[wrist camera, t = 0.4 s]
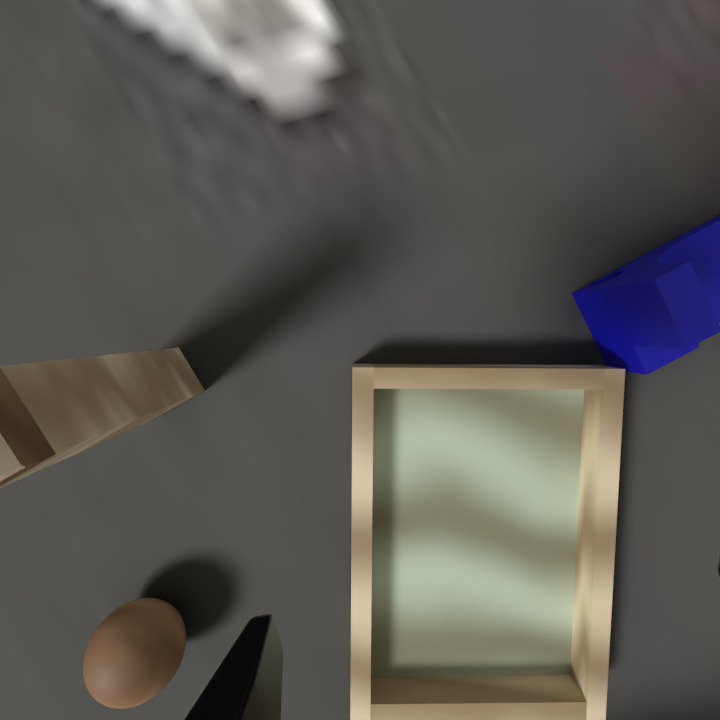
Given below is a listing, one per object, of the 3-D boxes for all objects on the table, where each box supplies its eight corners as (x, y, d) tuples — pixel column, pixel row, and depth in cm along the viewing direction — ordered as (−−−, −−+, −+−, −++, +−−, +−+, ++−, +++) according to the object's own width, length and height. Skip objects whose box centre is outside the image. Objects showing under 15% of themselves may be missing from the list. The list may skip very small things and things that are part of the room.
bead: (200, 655, 22) (162, 735, 18) (119, 656, 22) (62, 736, 18) (198, 579, 22) (159, 641, 18) (116, 579, 22) (57, 641, 18)
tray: (581, 682, 23) (605, 720, 21) (350, 685, 23) (350, 723, 20) (597, 364, 22) (625, 368, 19) (352, 363, 21) (352, 367, 19)
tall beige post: (206, 391, 21) (-22, 486, 8) (162, 416, 21) (-134, 550, 8) (179, 346, 21) (-98, 373, 8) (134, 371, 21) (-212, 439, 8)
